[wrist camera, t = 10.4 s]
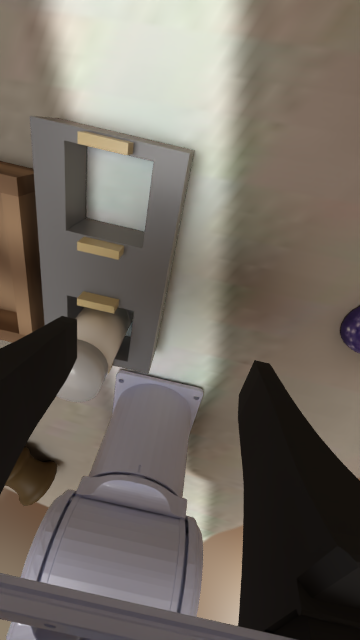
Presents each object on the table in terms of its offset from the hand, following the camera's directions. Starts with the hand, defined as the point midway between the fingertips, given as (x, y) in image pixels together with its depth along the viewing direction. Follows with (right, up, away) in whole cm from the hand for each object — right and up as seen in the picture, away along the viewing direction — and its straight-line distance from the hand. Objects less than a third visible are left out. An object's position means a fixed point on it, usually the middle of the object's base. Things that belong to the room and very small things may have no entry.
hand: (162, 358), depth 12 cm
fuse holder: (-4, +6, +9) cm, 12 cm away
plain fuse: (-5, +2, +12) cm, 13 cm away
